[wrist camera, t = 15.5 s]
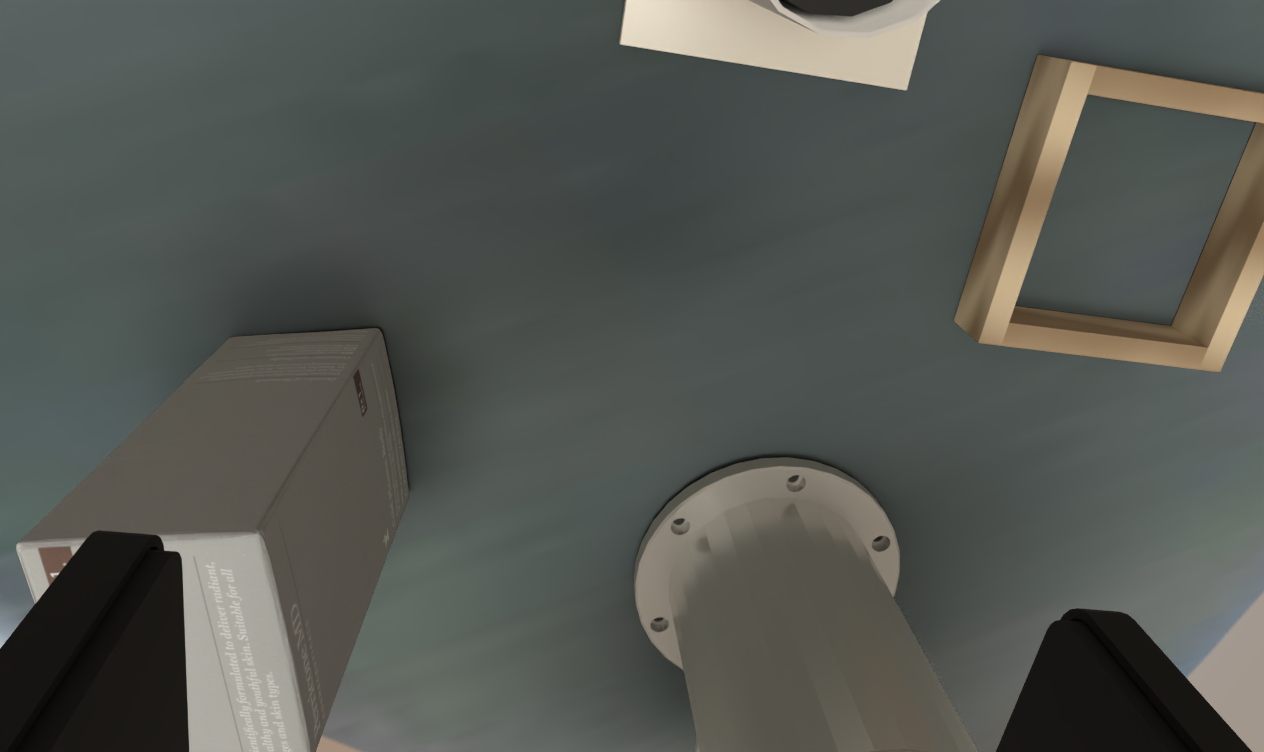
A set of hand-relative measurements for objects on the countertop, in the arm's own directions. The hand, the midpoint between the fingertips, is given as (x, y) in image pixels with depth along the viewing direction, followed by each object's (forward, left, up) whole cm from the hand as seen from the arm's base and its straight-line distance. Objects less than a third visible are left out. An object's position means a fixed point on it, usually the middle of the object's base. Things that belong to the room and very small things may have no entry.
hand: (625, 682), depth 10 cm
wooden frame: (+1, -23, -28) cm, 36 cm away
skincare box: (-12, +9, -28) cm, 32 cm away
